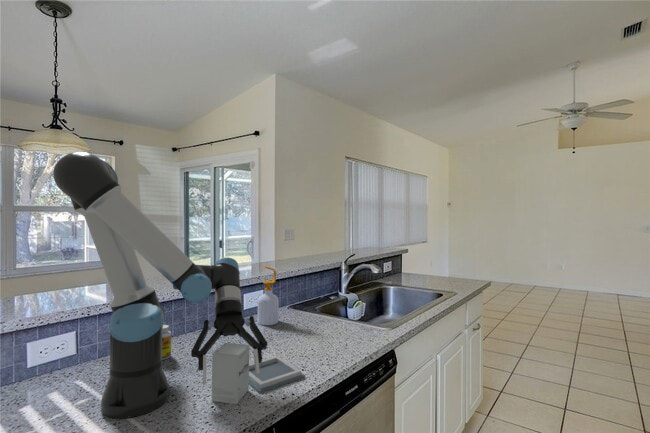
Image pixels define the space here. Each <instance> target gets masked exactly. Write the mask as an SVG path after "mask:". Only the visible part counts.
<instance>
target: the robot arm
mask: <svg viewBox="0 0 650 433" xmlns="http://www.w3.org/2000/svg"><path fill="white" fill-rule="evenodd" d="M52 174H53V180H54V183H55V185H56V186H57V187H58V189H59V190H60V191H61V192H62V193H63V194H64V195H66V196H67V197H69V198H70V201H71V203H72V207H73V209H74V212H76V213H78V214H80V215H82V216H84V220H85V222H86V225H87V228H88V229H89V230H88V231H89V232H90V235H91V236H90V237H91V239H92V241H93V244H94V246H95V249H96V252H97V254H98V257H99V259H100V263H101V265H102V269H103V271H104V274H105V277H106V279H107V282H108V285H109V287H110V290H111V292H112V294H113V295H112V296H113V299H112V300H111V303H110V304H109V306H110V308H111V311H112V314H111V317H110V322H109V325H108V331H109V377H108V380H107V382H106V385H105V389H104V391H103V395H102V397H101V400H100V401H101V402H100V404H101V406H100V409H101V413H102V414H103V415H104V416H105V417H109V418H112V419H126V418H133V417H138V416H141V415H142V416H143V415H144V414H148V413H150V412H152V411H154V410H157V409H158V408H160V407H161V406H162V405H163V404H165V403H166V401H167V400H168V399H169V397H170V385H169V383H168V380H167V376H166V374H165V371H164V368H163V360H162V331H163V325H164V322H165V315H166V314H165V309H164V307H163V305H162V303H161V302H160V301H159V298H158V295H157V293H156V290H155V288H154V287H152V286H150V285H148V284H147V282H146V279H145V276H144V273H143V270H142V268H141V265H140V263H139V259H138V256H137V254H136V252H137V253H138V254H139V255H140V256H141V257H142V258H144V260H146V261H147V262H148V263H149V264H150V265H151V266H152V267H153V268H155V270H156V271H158V272H159V273H160V275H162V276H163V277H164V278H165V279H167V281H169V282H170V283H171V284H172V289H174V290H177V291H179V292H180V294H181V297H183V299H185V300H186V301H187V302H189V303H192V304H197V303H198V304H200V303H202V302H204V301H206V300H207V299H208V297H209V296H210V295H211V294H212V290H214V303H215V304H214V305H215V306H214V307H215V308H214V310H215V314H214V315H215V318H214V321H209V320H208V319H205V320H204V321H203V327H202V330H201V331H200V332H199V336H198V337H197V339H196V341H195V343H194V345H193V346H192V348H191V351H190V352H191V353H190V354H191V357H192V358H197V359H198V360H197V361H198V364H197V365H198V366H197V367H198V368H197V369H198V371H199V372H200V371H202V385H204V386H205V385H207V353H208V352H210V351H209V350H211V349H212V347H213V346H214V344H215V343H217V340H219V339H220V338H221V336H222V337H229V336H231V337H233V336H236V335H237V336H239V337H241V338H242V339H243V340H244V341H245V342H246V343H247V345H249V347H251V348H252V349H253V363H254V364H255V375H256V377H259V374H260V371H259V363H261V362H262V360H263V354H262V353H263V350H267V347H268V341H267V340H266V338H265V336H264V335H263V333H262V332H261V331H260V329H259V327H258V326H257V324H256V322H255V318H254V316H253V315H250V316H249V317H248V318H244V317H243V306H242V294H241V279H240V278H241V277H240V274H241V273H240V268H239V263H238V261H237V260H236V259H234V258H232V257H224V258H219V259H217V260H216V261H215V263H214V264H213V265H212V264H209V265H208V264H207V265H206V264H196V263H194V262H193V260H191V258H189V256H188V255H186V254H185V253H184V251H182V250H181V249H180V248H179V247H178V246H177V245H176V244H175V243H174V241H172V240H171V239H170V238H169V237H168V236H167V235H166V234H164V233H163V231H161V230H160V229H159V228H158V227H157V225H155V224H154V223H153V222H152V221H151V220H150V218H148V216H146V215H145V214H144V213H143V212H142V211H141V210H140V209H139V208H138V207H137V206H136V205H135V204H134V203H133V202H132V201H131V200H130V199H129V198H127V196H126V195H125V194H124V193H122V186H121V185H120V184H119V180H118V175H117V172H116V170H115V169H114V168H113V167H112V166H111V164H110V163H109V162H107V161H105V160H103V159H101V158H100V157H98V156H96V155H94V154H93V153H89V152H84V151H76V152H75V151H74V152H71V153H67V154H65V155H63V156H62V157H61V158H59V160H57V162H56V164H55V165H54V168H53V173H52ZM245 324H246V326H247V327H249V328H250V331H251V333H252V334H253V336H254V337H255V338H254V337H253V336H252V335H251V334H250V333H249V332H248V331H247V330H246V328H244V325H245ZM212 328H214V329H215V331H214V333H213V334H212V335H211V337H210V338H209V339H208V340H207V341H206V342H205V344H204V345H203V342H204V341H205V339H206V337H207V335H208V331H210V330H212ZM202 345H203V346H202ZM201 346H202V348H201ZM200 348H201V349H200Z"/></svg>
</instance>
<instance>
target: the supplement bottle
mask: <svg viewBox="0 0 650 433" xmlns="http://www.w3.org/2000/svg"><path fill="white" fill-rule="evenodd" d="M171 355H172V331H170V326H169V324H163V331H162V361H164V360H167V359H169V358H170V357H171Z"/></svg>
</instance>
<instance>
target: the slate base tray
mask: <svg viewBox="0 0 650 433" xmlns="http://www.w3.org/2000/svg"><path fill="white" fill-rule="evenodd" d="M259 371H260V374H259V377H256V375H255V364H254V362H252V363H249V386H250V387H252V389H253V390H254V391H255V392H257V393H258V394H262V393H264V392H267V391H271V390H273V389H275V388H279V387H281V386H284V385H287V384H290V383H293V382H295V381H296V382H297V380H300V379H304V378H305V376H306V374H304V373H303V372H302V370H300V369H299V368H297V367H295V366H294V365H293V364H291V363H289V362H288V361H286V360H285V359H283V358H282V357H280V356H279V355H275V356H273V357H269V358H265V359H262V362H261V363H259Z"/></svg>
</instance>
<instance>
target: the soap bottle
mask: <svg viewBox="0 0 650 433" xmlns="http://www.w3.org/2000/svg"><path fill="white" fill-rule="evenodd" d="M264 268H265V269H268V270H272V271H273V278H272V280H262V283H263V284H264V285H265V286H266V287H265V288H264V293H263V294H262V295H260V296H259V297H258V299H257V324H258V325H261V326H273V325H276V324H278V323H279V314H280V313H279V308H280V306H279V305H280V303H279V302H280V301H279V297H278V296H277V295H275V294H274V293H273V288H272V287H271V286H272V285H273V284H275V283H276V282H277V281H276V280H277V271H276V269H274V268H273V267H271V266H268V265H264Z"/></svg>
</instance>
